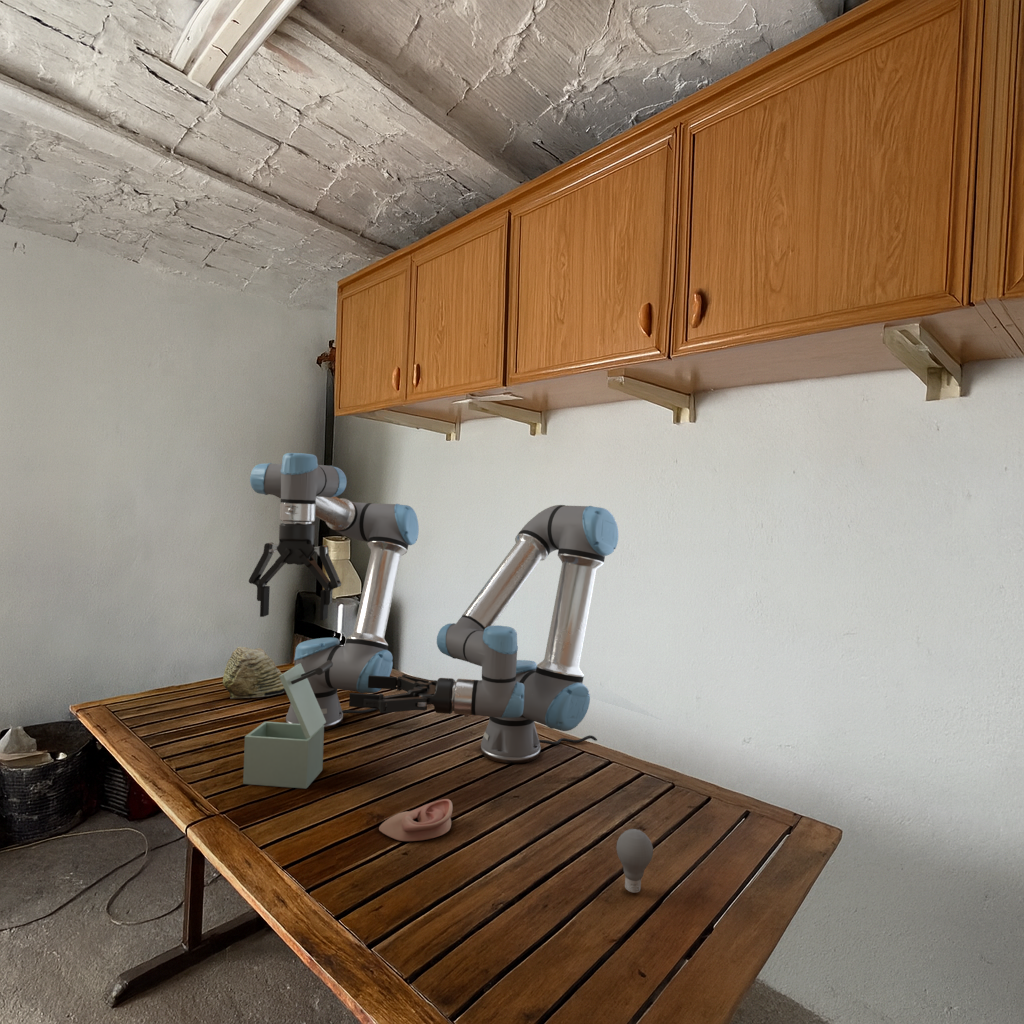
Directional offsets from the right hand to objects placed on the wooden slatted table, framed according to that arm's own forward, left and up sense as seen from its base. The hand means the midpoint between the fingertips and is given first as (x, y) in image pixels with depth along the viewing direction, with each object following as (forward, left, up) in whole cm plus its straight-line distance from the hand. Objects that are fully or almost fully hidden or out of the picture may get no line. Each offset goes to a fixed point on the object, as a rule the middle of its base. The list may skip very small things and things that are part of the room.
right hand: (359, 690), depth 141 cm
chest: (+15, -7, -21) cm, 26 cm away
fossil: (+22, -70, -21) cm, 76 cm away
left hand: (+14, -7, +15) cm, 22 cm away
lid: (+12, -6, -3) cm, 14 cm away
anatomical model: (-8, +23, -21) cm, 32 cm away
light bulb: (-38, +53, -21) cm, 69 cm away
